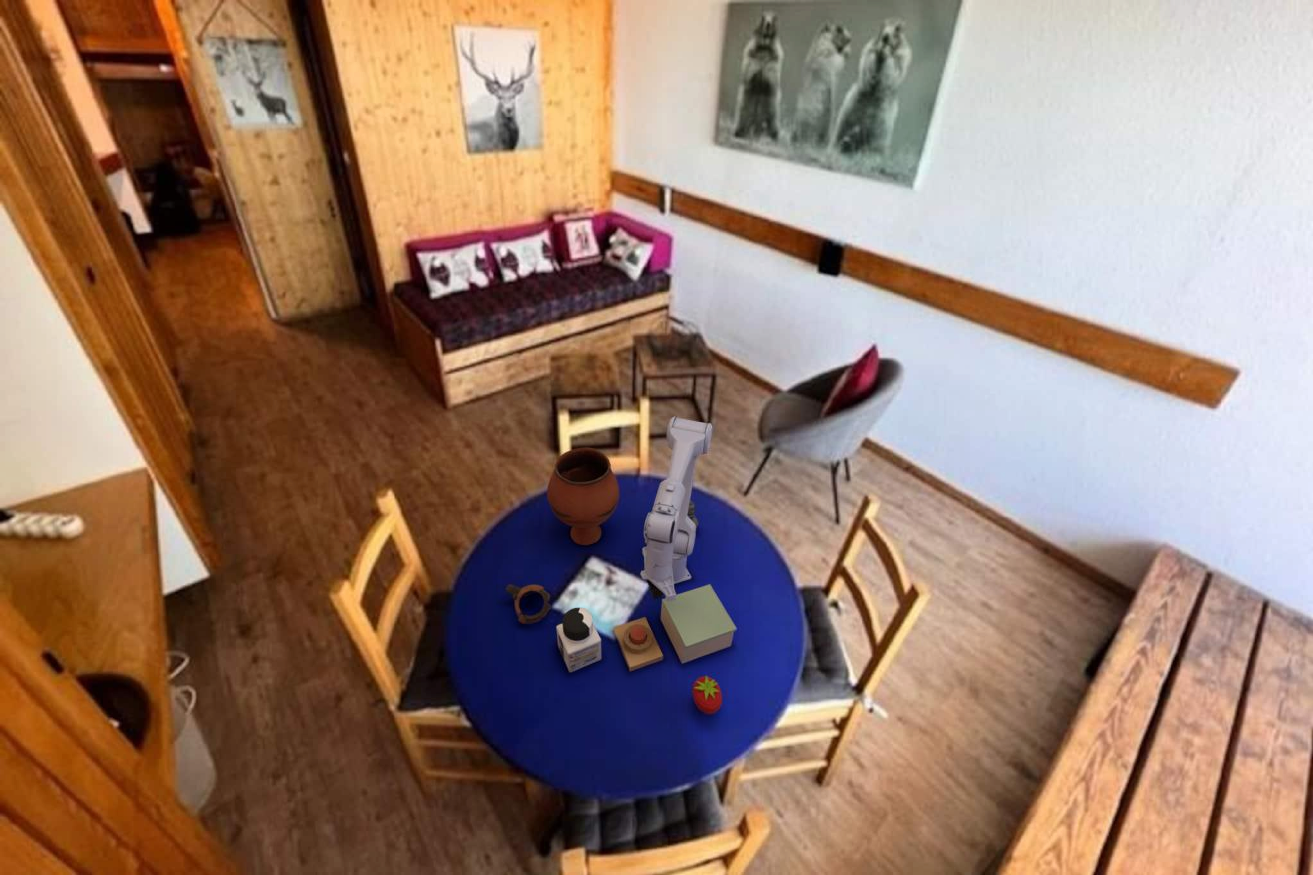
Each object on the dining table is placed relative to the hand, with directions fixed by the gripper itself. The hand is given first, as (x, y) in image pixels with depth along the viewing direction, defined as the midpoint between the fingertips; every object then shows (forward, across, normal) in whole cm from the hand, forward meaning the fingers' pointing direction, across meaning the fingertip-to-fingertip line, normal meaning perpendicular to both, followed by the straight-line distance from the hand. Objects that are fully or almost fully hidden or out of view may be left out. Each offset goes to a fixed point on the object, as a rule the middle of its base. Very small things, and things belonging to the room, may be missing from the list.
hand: (656, 596), depth 132 cm
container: (+11, +1, -19) cm, 22 cm away
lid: (+3, +6, +8) cm, 11 cm away
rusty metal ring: (+11, -15, -27) cm, 33 cm away
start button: (+7, +4, -6) cm, 10 cm away
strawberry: (+11, +23, +2) cm, 25 cm away
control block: (+10, +4, -6) cm, 13 cm away
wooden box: (+10, +6, +8) cm, 14 cm away
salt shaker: (+11, -25, +20) cm, 34 cm away
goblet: (+11, -34, -7) cm, 36 cm away
